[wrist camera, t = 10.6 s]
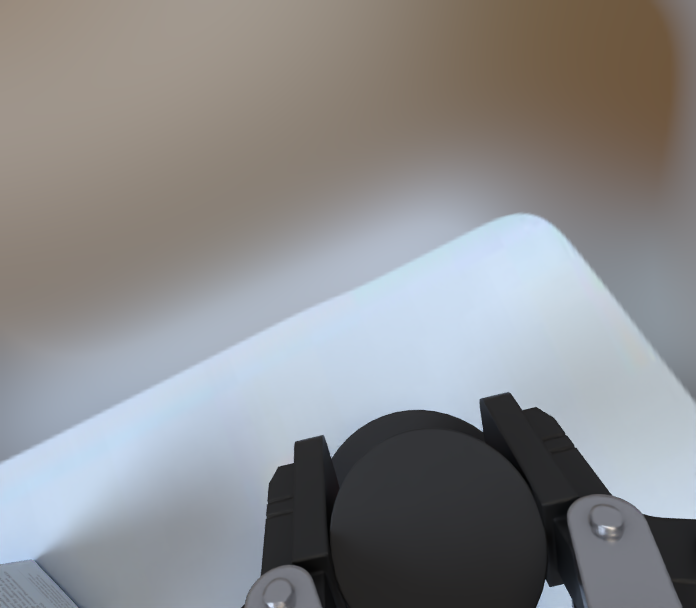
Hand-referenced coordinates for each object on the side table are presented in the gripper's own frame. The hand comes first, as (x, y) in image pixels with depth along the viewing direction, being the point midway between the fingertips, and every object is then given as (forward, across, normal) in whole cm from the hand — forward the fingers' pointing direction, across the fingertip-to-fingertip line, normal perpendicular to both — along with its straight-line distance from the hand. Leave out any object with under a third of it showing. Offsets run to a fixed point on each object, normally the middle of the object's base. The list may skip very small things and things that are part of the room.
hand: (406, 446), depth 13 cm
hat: (+2, 0, +5) cm, 5 cm away
